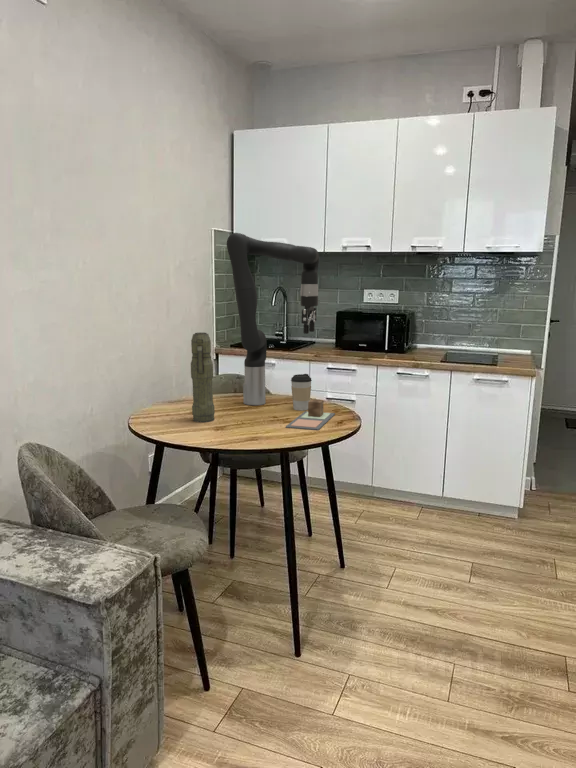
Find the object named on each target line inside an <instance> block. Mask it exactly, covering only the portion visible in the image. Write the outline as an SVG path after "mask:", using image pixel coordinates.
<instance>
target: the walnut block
mask: <svg viewBox="0 0 576 768" xmlns="http://www.w3.org/2000/svg"><path fill="white" fill-rule="evenodd" d="M307 411H308V416H311V417H321V416H322V415H323V412H324V399H311V398H310V401H309V402H308V410H307Z"/></svg>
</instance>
